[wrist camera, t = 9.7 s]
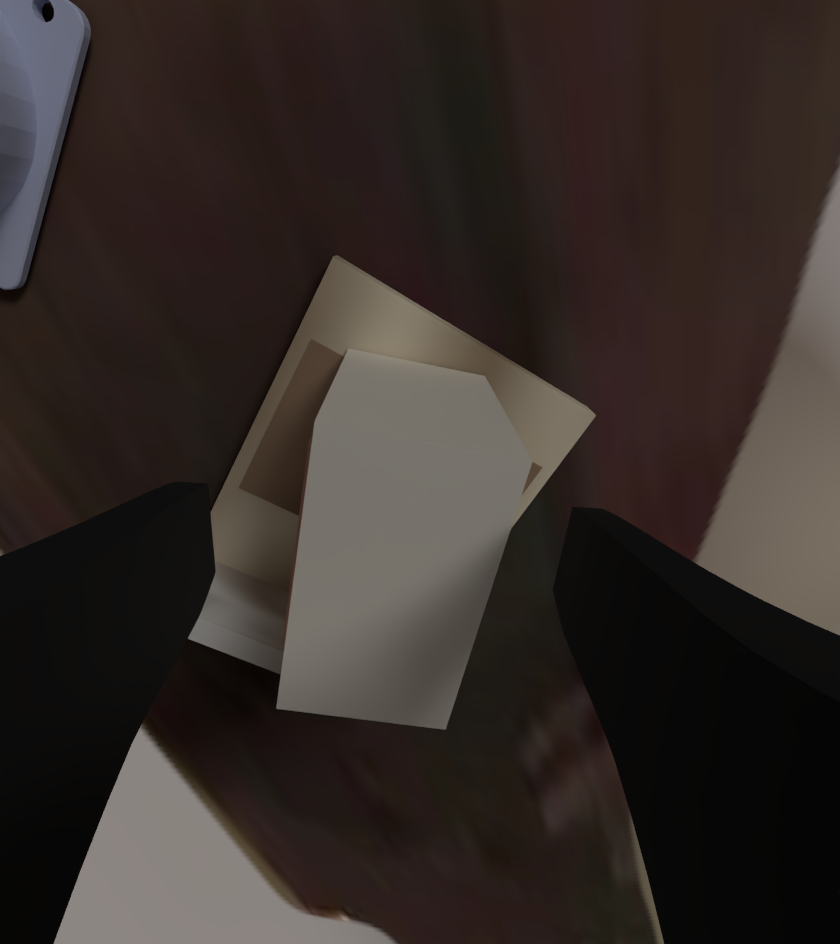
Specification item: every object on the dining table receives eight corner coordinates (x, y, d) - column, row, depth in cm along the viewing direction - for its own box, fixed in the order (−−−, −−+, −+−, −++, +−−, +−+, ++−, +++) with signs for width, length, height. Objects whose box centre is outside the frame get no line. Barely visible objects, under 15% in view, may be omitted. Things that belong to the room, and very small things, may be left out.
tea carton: (311, 555, 20) (268, 707, 14) (342, 347, 17) (304, 419, 10) (432, 574, 20) (445, 729, 14) (485, 376, 17) (532, 461, 11)
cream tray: (190, 559, 21) (146, 627, 17) (336, 255, 17) (318, 262, 13) (406, 650, 23) (407, 727, 20) (586, 406, 19) (630, 448, 15)
